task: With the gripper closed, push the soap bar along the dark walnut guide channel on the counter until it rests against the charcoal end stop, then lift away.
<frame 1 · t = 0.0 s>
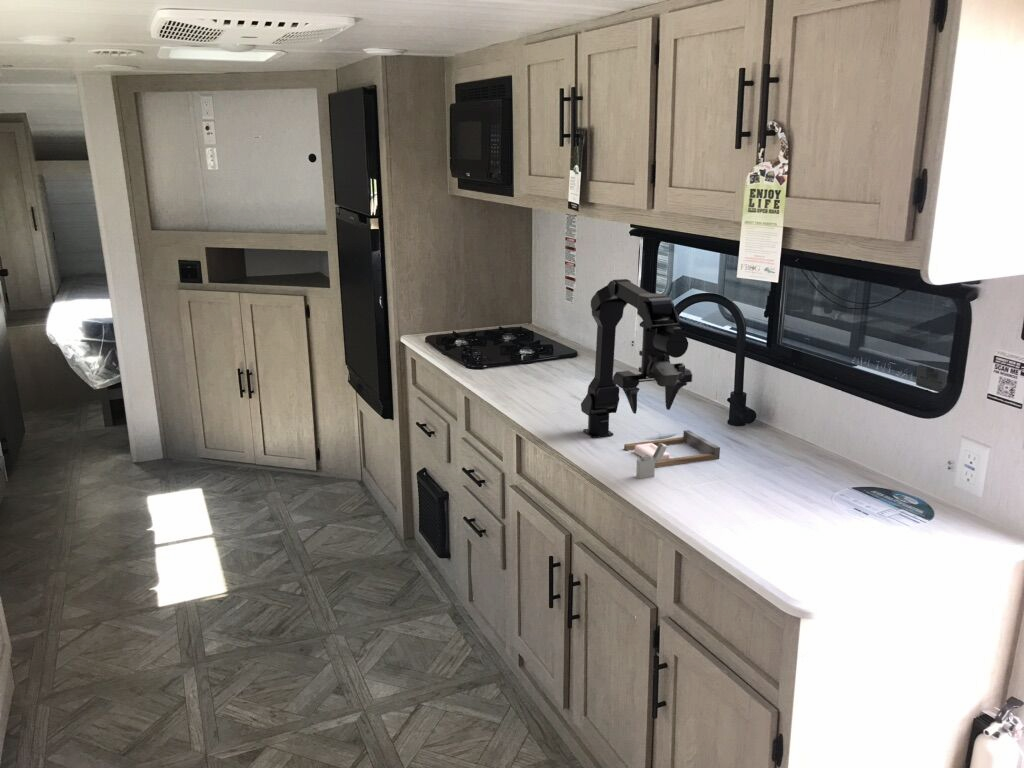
hand: (651, 411, 208), 15 cm above the counter, fingers open, 9 cm apart
guide channel: (668, 453, 222), on the counter
soap bar: (651, 458, 221), on the counter
lighter: (650, 476, 207), on the counter
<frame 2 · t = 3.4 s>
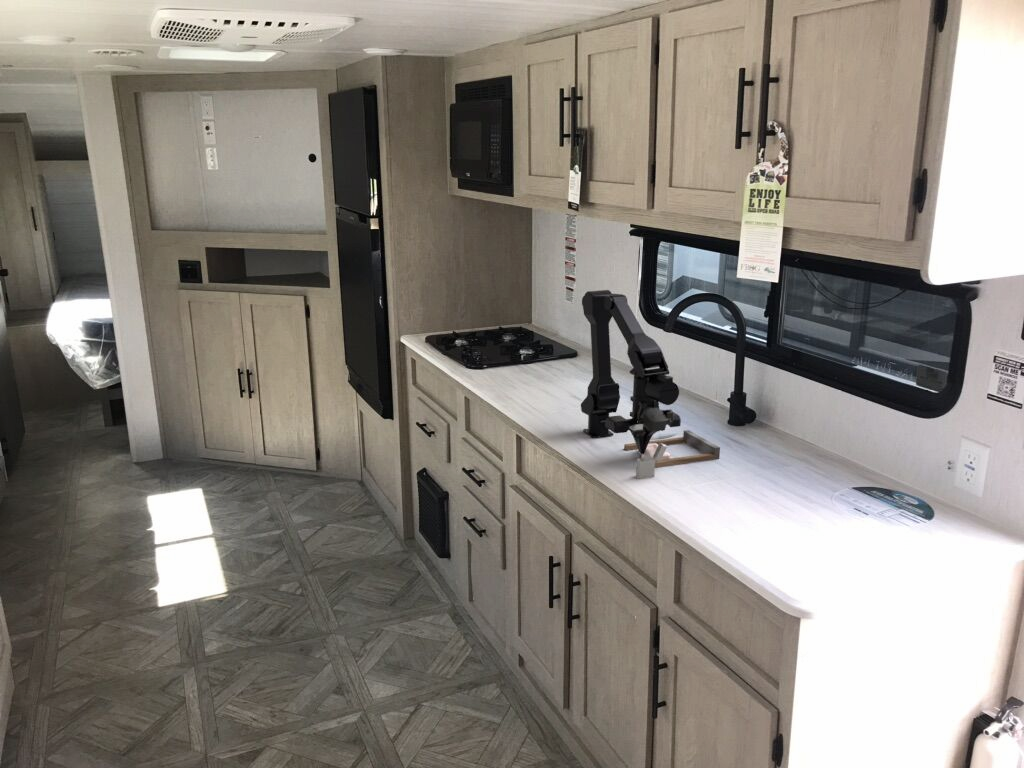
hand: (641, 453, 219), 1 cm above the counter, fingers closed
soap bar: (653, 458, 221), on the counter, touching gripper
everything else where it was.
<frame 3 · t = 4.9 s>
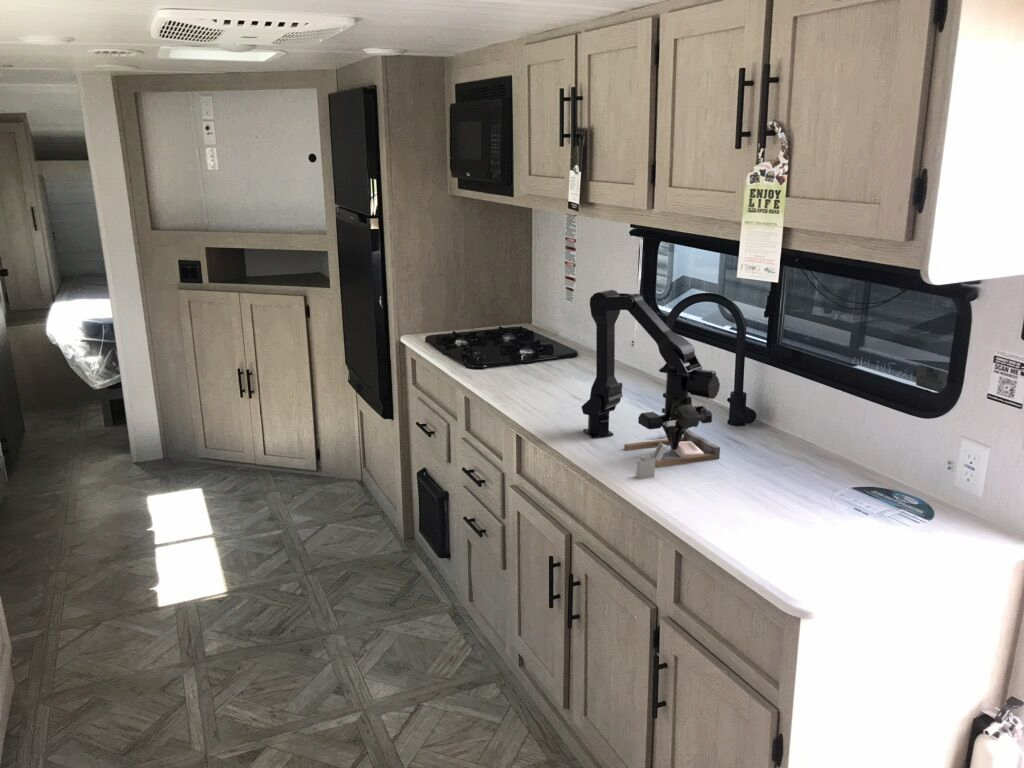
hand: (673, 449, 222), 1 cm above the counter, fingers closed
soap bar: (687, 456, 223), on the counter, touching gripper
everything else where it was.
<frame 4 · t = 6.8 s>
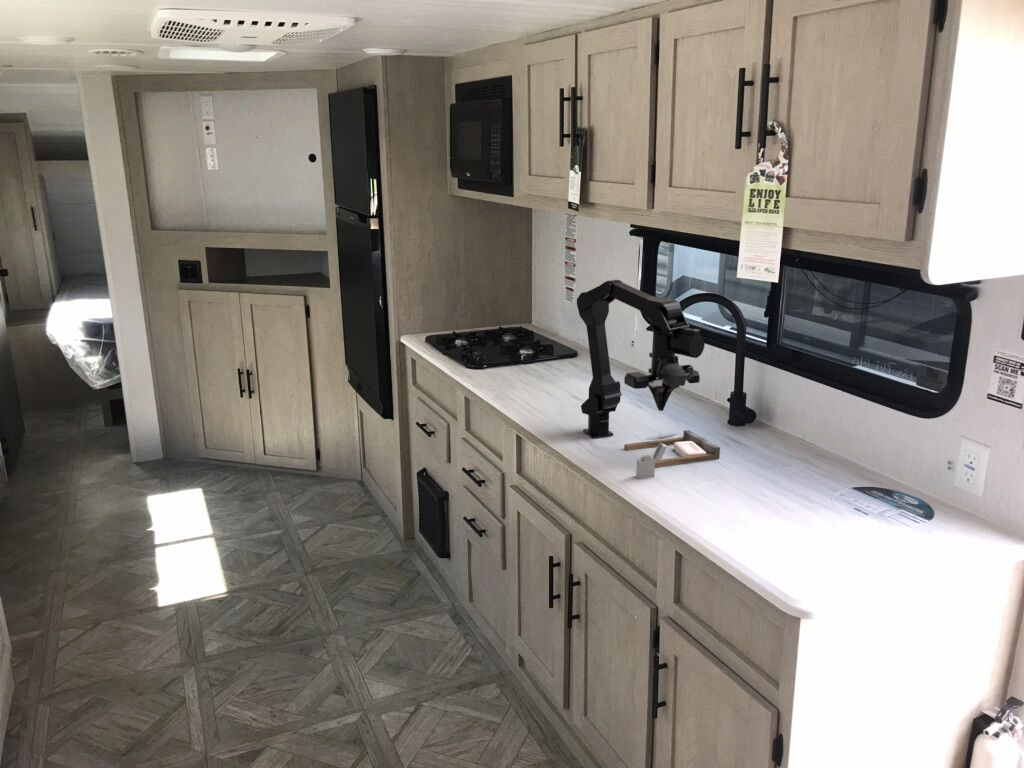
hand: (660, 410, 219), 12 cm above the counter, fingers closed
soap bar: (689, 456, 223), on the counter, touching guide channel
everything else where it was.
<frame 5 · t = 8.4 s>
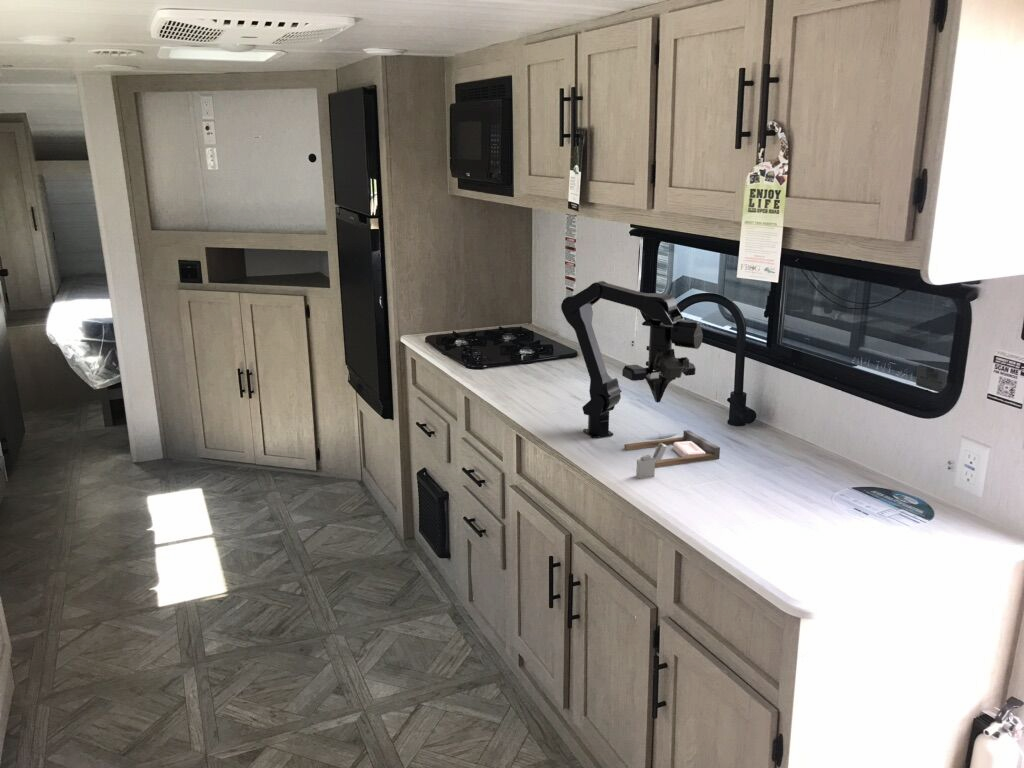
hand: (657, 402, 225), 12 cm above the counter, fingers closed
soap bar: (688, 456, 223), on the counter
everything else where it was.
at the end: soap bar inside the target area (2.0 cm from its centre), on the counter; soap bar moved 10.2 cm from its start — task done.
